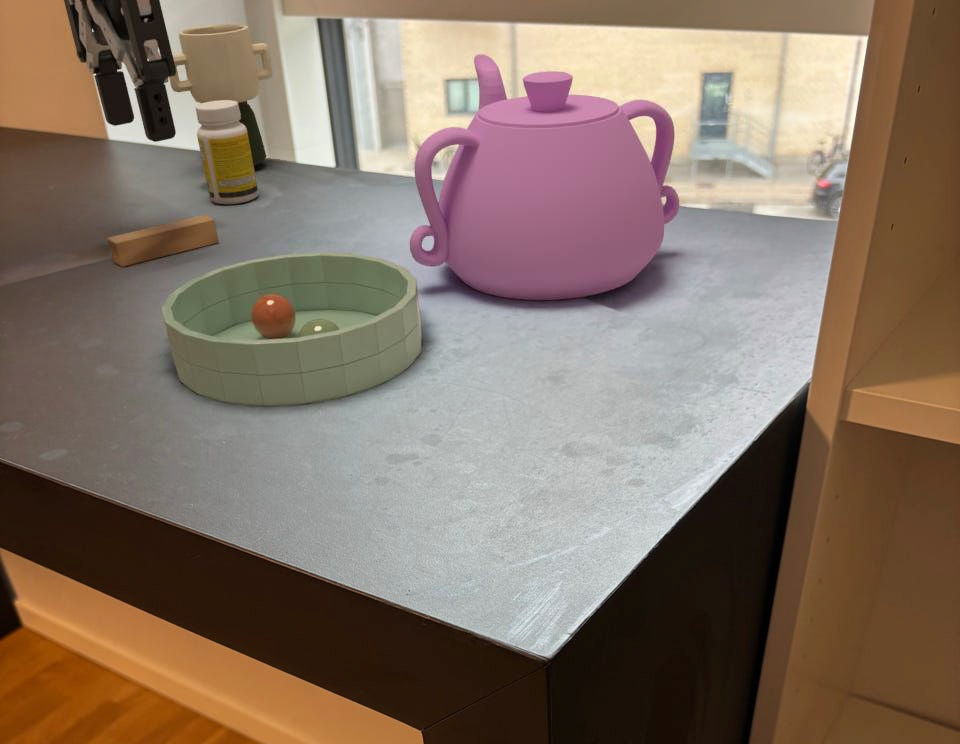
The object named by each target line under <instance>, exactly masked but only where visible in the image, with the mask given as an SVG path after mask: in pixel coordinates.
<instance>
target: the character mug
mask: <svg viewBox="0 0 960 744" xmlns="http://www.w3.org/2000/svg"><path fill="white" fill-rule="evenodd" d="M178 38H179V44H180V48H181V53H176V54H172V55H173V59H174V63H175V67H176V75H175V76H171V77H168V80H169V83H170V87H171V89H172V91H173V92H175V93H185V92H190V95H191V96H192V98H193V99H194V102H195V103H199V104H202V103H206V102H211V101H219V100H232V101H237V102H238V105H239V110H240V113H241V116H240V117H241V119H240V120H239V122H240V123H242V124H243V125H245V127H246V129H247V133H248V138H249V144H250V149H251V154H252V160H253V166H254V167H255V166H256V165H258V164H260V163H262V162H264V160H266V158H267V152H266V149H265V145H264V141H263V138H262V137H263V136H262V135H261V131H260V127H259V125H258V120H257V118H256V114H255V111H254V110H253V109H252V107H251V105H250V104H249V103H248V101H251V100H253V99H255V98H256V97H257V96H259V91H260V85H259V81H264V80H269V79H271V78H272V77H273V65H272V59H271V54H270V48H269V46H268V44H267V43H263V42H259V43H253V42H252V36H251V31H250V27H249V26H248V25H245V24H227V23H225V24H209V25H208V24H207V25H201V26H196V27H195V26H194V27H190V28H187V29H182V30H180V31H179V32H178ZM257 55H258V56H259V55H260V57H261V58H260V59H261V64H262V68H261V69H257V67H256V61H255V56H257ZM183 65H184V69H185V74H186V79H185V80H180V76H179V71H178V66H183Z"/></svg>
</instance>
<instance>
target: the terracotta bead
mask: <svg viewBox="0 0 960 744" xmlns="http://www.w3.org/2000/svg"><path fill="white" fill-rule="evenodd" d="M251 320H252V324H253V326H254V328H255V329H256V331H257V332H258V333H259V334H260V335H262V336H263V337H265V338H267V339H282V338H285V337H286V336H288V335H289V334H290V333H291V332H292V330H293V328H294V326H295V323H296V313H295V310H294V307H293V305H292V304H291V303H290V301H289V300H288V299H286V298H285V297H283V296H281V295H279V294H274V293H271V294H265V295H263V296H261V297H260V298H258V299H257V300H256V302H255V303H254V305H253V307H252V310H251Z"/></svg>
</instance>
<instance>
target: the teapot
mask: <svg viewBox="0 0 960 744" xmlns="http://www.w3.org/2000/svg"><path fill="white" fill-rule="evenodd" d="M473 65H474V69H475V72H476V76H477V82H478V83H477V84H478V111H477V112H476V113H475V115H474V116H473V118H472V119H471V121H470V123H469V125H468V126H467V128H464V127H458V126H450V127H445V128H442V129H440V130H437V131H436V132H433V133H432V134H431V135H430V136H428V137H427V138H426V139H425V140H424V141H423V143H422V144H421V145H420V146H419V148H418V149H417V152H416V155H415V159H414V167H413V168H414V169H413V170H414V179H415V184H416V188H417V192H418V195H419V198H420V201H421V204H422V207H423V210H424V212H425V214H426V218H427V221H428V223H429V225H427V224H424V225H420V226H417V227H416V228H415V229H414V230H413V231H412V234H411V235H410V238H409V239H410V240H409V251H410V254H411V257H412V259H413V260H414V261H415V262H416V263H418V264H420V265H422V266H425V267H431V268H433V267H439V266H442V265H443V264H444V263H445V264H446V265H447V266H448V267H449V268H450V269H451V270H452V272H454V273H455V275H457V277H458V278H459V279H460V280H461V281H462V282H463V283H464V284H465V285H467V286H468V287H470V288H472V289H473V290H476V291H478V292H480V293H484V294H487V295H492V296H495V297H500V298H505V299H515V300H527V301H556V300H568V299H577V298H584V297H588V296H593V295H598V294H602V293H605V292H609V291H612V290H615V289H617V288H620V287H622V286H624V285H627V284H628V283H629V282H631V281H632V280H634V279H635V278H636V277H637V276H638V275H639V274H640V273H641V271H642V270H644V268H645V267H647V265H648V264H649V263H650V262H651V260H652V259H653V258H654V257H655V256H656V254H657V253H658V251H659V250H660V248H661V247H662V243H663V240H664V236H665V226H666V225H667V224H668V223H670V222H671V221H673V220H674V219H675V217H676V216H677V215H678V214H679V213H678V212H679V211H680V198H679V194H678V193H677V191H676V189H675V188H673V186H670V185H664V183H665V180H666V177H667V174H668V171H669V166H670V163H671V160H672V156H673V151H674V144H675V125H674V122H673V119H672V117H671V114H670V113H669V112H668V111H667V110H666V109H665V108H664V107H663V106H661V105H660V104H658V103H656V102H654V101H651V100H648V99H634V100H630V101H627V102H625V103H624V104H621V105H618V103H617V102H615V101H613V100H611V99H609V98H605V97H600V96H593V95H587V94H586V95H585V94H570V90H571V87H572V84H573V79H574V77H573V75H572V74H570V73H568V72H564V71H558V70H557V71H556V70H555V71H552V70H551V71H550V70H549V71H539V72H533V73H529V74H527V75H525V76H523V78H522V83H523V88H524V90H525V94H526V96H518V97H513V98H508V97H507V93H506V89H505V85H504V82H503V78H502V74H501V71H500V68H499V66H498V64H497V63H496V62H495V60H494V59H493V58H492V57H491V56H488V55H486V54H483V53H482V54H481V53H479V54H476V55H475V56H474V58H473ZM639 117H648V118H651V119H652V120H653V122H654V125H655V142H654V147H653V153H652V156H651V160H650V157H649V155H648V153H647V151H646V149H645V147H644V145H643V143H642V142H641V140H640V137H639V136H638V134H637V132H636V130H635V128H634V126H633V125H632V122H631V120H634V119H636V118H639ZM456 145H458V146H457V148H456V151H455V153H454V155H453V156H452V159H451V161H450V164H449V165H448V169H447V171H446V174H445V176H444V179H443V182H442V185H441V189H440V192H439V197H438V198H437V194H436V191H435V187H434V183H433V174H432V169H433V167H432V166H433V163H434V159H435V157H436V156H437V154H438V153H440V151H442V150H444V149H446V148H448V147H451V146H456ZM664 197H665V203H664V204H663V200H662V198H664ZM426 237H433V246H432V248H431V249H430V250H426V249H424V248H423V241H424V239H425V238H426Z"/></svg>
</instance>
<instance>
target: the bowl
mask: <svg viewBox="0 0 960 744" xmlns="http://www.w3.org/2000/svg"><path fill="white" fill-rule="evenodd" d="M418 289H419V288H418V280H417V278H416V277H415V276H414V275H413V274H412V273H411V272H410V271H409V270H408V269H407V268H406V267H405V266H402V265H399V264H397V263H395V262H392V261H390V260H388V259H385V258H380V257H375V256H370V255H364V254H359V253H343V252H327V251H326V252H306V253H305V252H303V253H287V254H280V255H274V256H267V257H261V258H254V259H249V260H245V261H241V262H238V263H234V264H230V265H226V266H223V267H219V268H216V269H213V270H212V271H209V272H207V273H204V274H202V275H199V276H197V277H194V278H192V279H190V280H188V281H187V282H185V283H183V284H182V285H181V286H179V287H178V288H176V289H175V290H174V291H172V292H171V293H170V294H169V295H168V297H167V298H166V300H165V301H164V303H163V305H162V306H161V308H160V310H161V313H162V314H161V315H162V317H163V321H164V326H165V330H166V333H167V338H168V342H169V346H170V351H171V354H172V358H173V362H174V366H175V369H176V373H177V377H178V380H179V381H180V382H181V383H183V385H184V386H185V387H187V388H188V389H189V390H191V391H193V392H194V393H195V394H197V395H200V396H203V397H205V398H207V399H211V400H215V401H218V402H222V403H228V404H231V405H232V404H233V405H243V406H252V407H254V406H255V407H256V406H257V407H283V406H296V405H297V406H298V405H305V404H314V403H321V402H325V401H331V400H337V399H339V398H344V397H347V396H348V397H349V396H351V395H354V394H357V393H361V392H364V391H367V390H370V389H372V388H374V387H377V386H380V385H382V384H384V383H386V382H388V381H390V380H392V379H394V378H395V377H397V376H398V375H400V374H402V373H403V372H404V371H405V370H407V369H408V368H409V367H411V365H412V364H414V362H415V361H416V360H417V358H418V357H419V355H421V353H422V340H423V339H422V338H423V336H422V335H423V334H422V322H421V312H420V301H419V290H418ZM271 293H274V294H279V295H281V296H283V297H285V298H286V299H288V300H289V301H290V303H291V304H292V305H293V307H294V310H295V313H296V323H295V326H294V328H293V330H292V332H291V333H290V334H289V335H288V336H286V337H285V338H282V339H267V338H265V337H263V336H262V335H260V334H259V333H258V332H257V331H256V329H255V328H254V326H253V324H252V320H251V310H252V307H253V305H254V303H255V302H256V300H257V299H258V298H260V297H261V296H263V295H265V294H271ZM315 319H325V320H329V321H331V322H333V323H334V324H335V325H337V326H338V327H339V329H340V330H337V331H332V332H327V333H321V334H315V335H310V336H304V337H298V335H299V333H300V331H301V329H302V327H303V326H304V325H305V324H307V323H308V322H310V321H312V320H315Z"/></svg>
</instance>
